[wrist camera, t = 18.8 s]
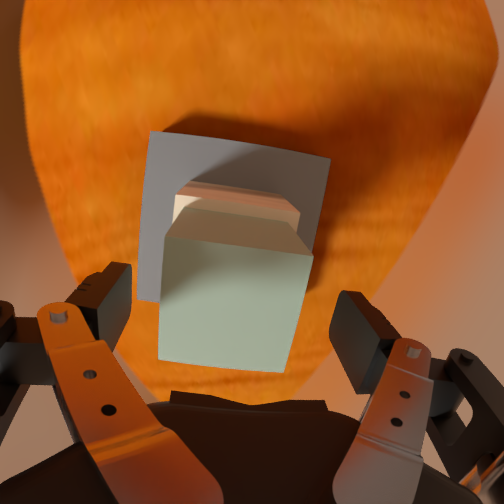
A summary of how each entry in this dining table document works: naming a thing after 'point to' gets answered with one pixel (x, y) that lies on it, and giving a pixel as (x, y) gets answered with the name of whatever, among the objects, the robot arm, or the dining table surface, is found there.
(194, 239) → the sage block
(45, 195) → the dining table surface
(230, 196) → the birch block
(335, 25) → the dining table surface
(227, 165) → the slate plinth
